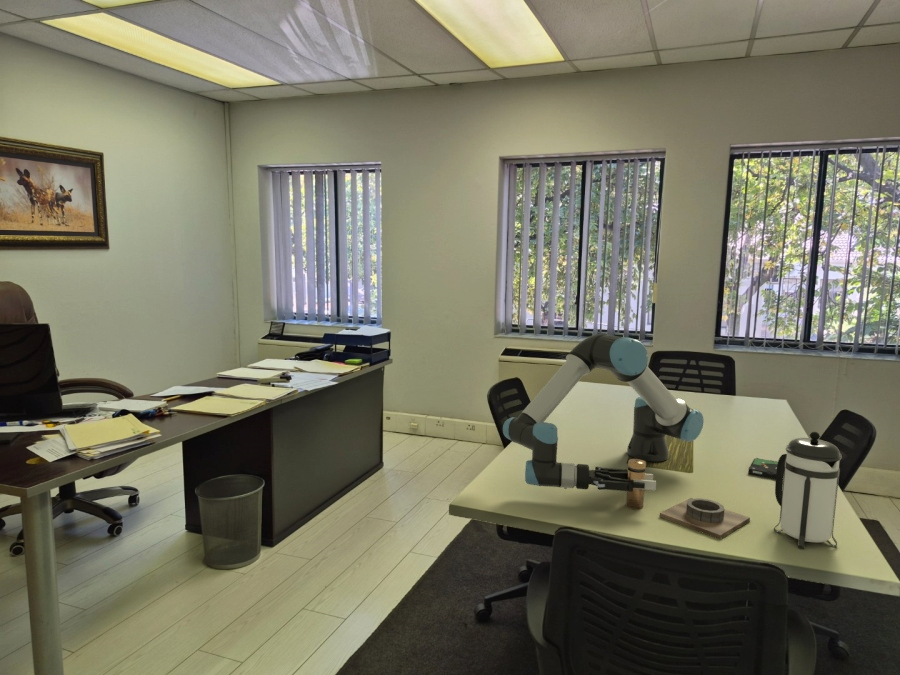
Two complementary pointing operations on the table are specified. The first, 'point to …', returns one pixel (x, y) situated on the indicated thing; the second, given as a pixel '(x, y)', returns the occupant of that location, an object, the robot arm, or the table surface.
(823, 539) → the coffee press
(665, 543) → the table surface
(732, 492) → the table surface
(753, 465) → the disk drive
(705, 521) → the collar plate
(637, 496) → the copper tube
